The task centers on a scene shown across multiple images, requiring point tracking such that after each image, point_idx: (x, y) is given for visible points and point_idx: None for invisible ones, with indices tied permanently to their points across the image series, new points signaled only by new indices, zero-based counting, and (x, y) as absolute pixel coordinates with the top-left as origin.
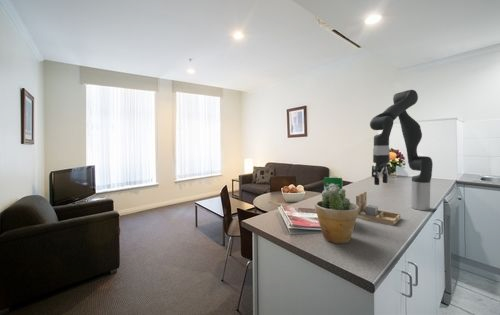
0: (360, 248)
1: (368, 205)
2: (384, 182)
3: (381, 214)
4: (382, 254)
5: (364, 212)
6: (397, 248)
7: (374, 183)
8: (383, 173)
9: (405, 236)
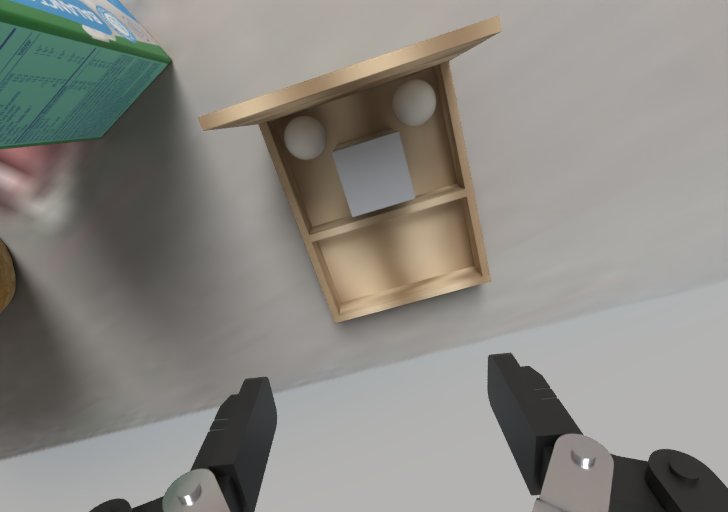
0: (7, 367)
1: (376, 139)
2: (491, 375)
3: (409, 211)
4: (58, 420)
5: (307, 151)
6: (147, 419)
7: (242, 386)
8: (573, 503)
9: (275, 383)
